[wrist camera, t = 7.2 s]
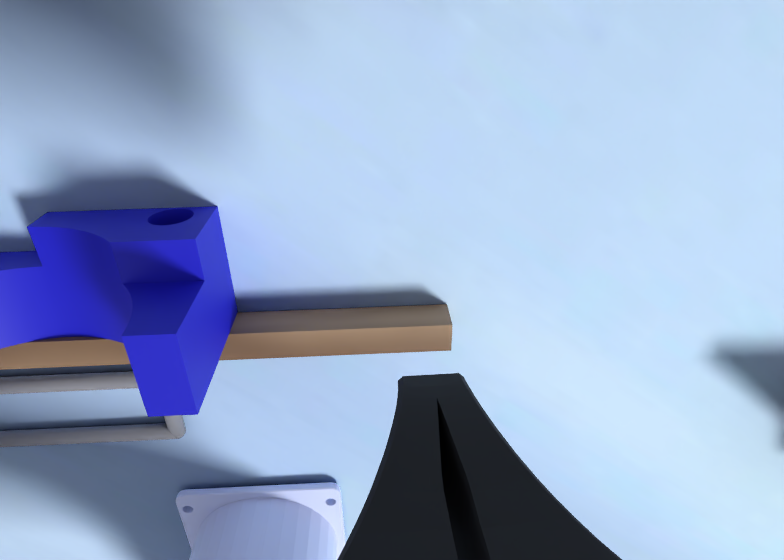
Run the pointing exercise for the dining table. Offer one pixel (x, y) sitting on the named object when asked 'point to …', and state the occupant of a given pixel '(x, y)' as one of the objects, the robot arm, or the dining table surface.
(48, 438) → the cord loop
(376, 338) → the guide lane
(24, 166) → the dining table surface
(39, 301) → the cable clip
